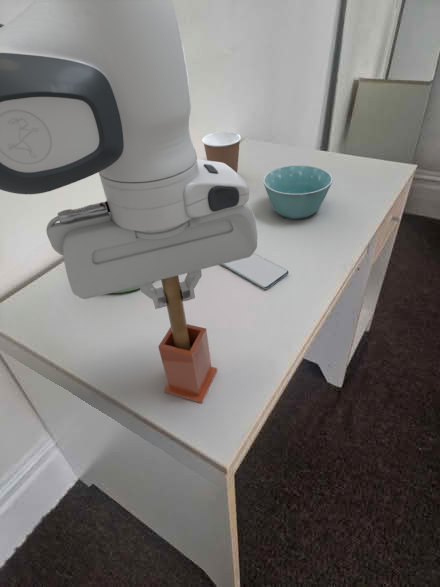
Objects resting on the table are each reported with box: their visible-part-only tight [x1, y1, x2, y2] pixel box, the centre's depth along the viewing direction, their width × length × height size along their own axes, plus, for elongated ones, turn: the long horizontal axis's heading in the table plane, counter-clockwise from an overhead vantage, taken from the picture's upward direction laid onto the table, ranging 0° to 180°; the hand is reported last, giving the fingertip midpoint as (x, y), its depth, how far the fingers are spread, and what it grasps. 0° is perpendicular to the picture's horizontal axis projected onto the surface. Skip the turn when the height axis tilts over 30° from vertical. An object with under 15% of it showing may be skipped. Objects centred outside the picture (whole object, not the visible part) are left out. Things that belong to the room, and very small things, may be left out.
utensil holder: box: [157, 323, 218, 404], centre depth 52 cm, size 6×6×10 cm
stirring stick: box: [160, 275, 191, 351], centre depth 47 cm, size 2×2×18 cm
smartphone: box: [221, 252, 289, 290], centre depth 74 cm, size 7×1×15 cm
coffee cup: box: [201, 131, 242, 174], centre depth 102 cm, size 10×10×12 cm
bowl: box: [262, 164, 333, 220], centre depth 88 cm, size 16×16×8 cm
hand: (174, 300), depth 44 cm, fingers closed on stirring stick, 2 cm apart
